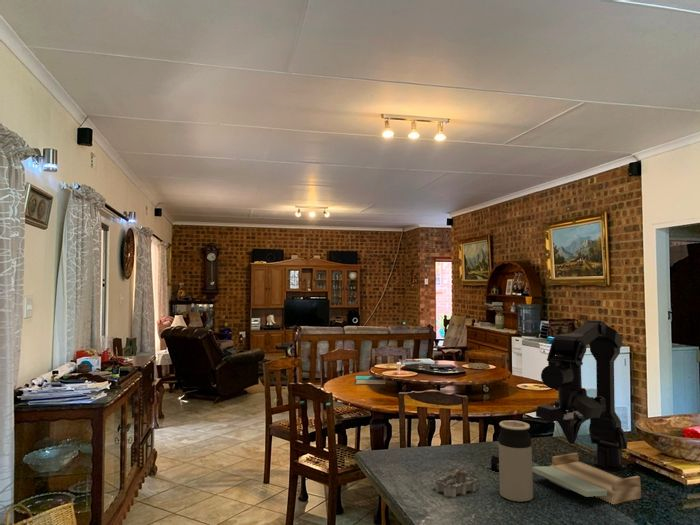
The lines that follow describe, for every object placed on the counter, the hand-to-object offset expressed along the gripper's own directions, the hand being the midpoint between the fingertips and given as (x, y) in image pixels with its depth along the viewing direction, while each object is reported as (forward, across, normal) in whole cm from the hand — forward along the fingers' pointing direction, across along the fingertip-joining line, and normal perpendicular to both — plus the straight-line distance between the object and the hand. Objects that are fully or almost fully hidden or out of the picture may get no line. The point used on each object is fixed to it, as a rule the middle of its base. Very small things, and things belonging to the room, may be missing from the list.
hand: (571, 443), depth 127 cm
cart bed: (+12, +7, 0) cm, 14 cm away
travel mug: (+12, -16, +3) cm, 20 cm away
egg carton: (+12, -28, +12) cm, 33 cm away
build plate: (+13, -8, +19) cm, 24 cm away
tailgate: (+9, +2, 0) cm, 9 cm away
